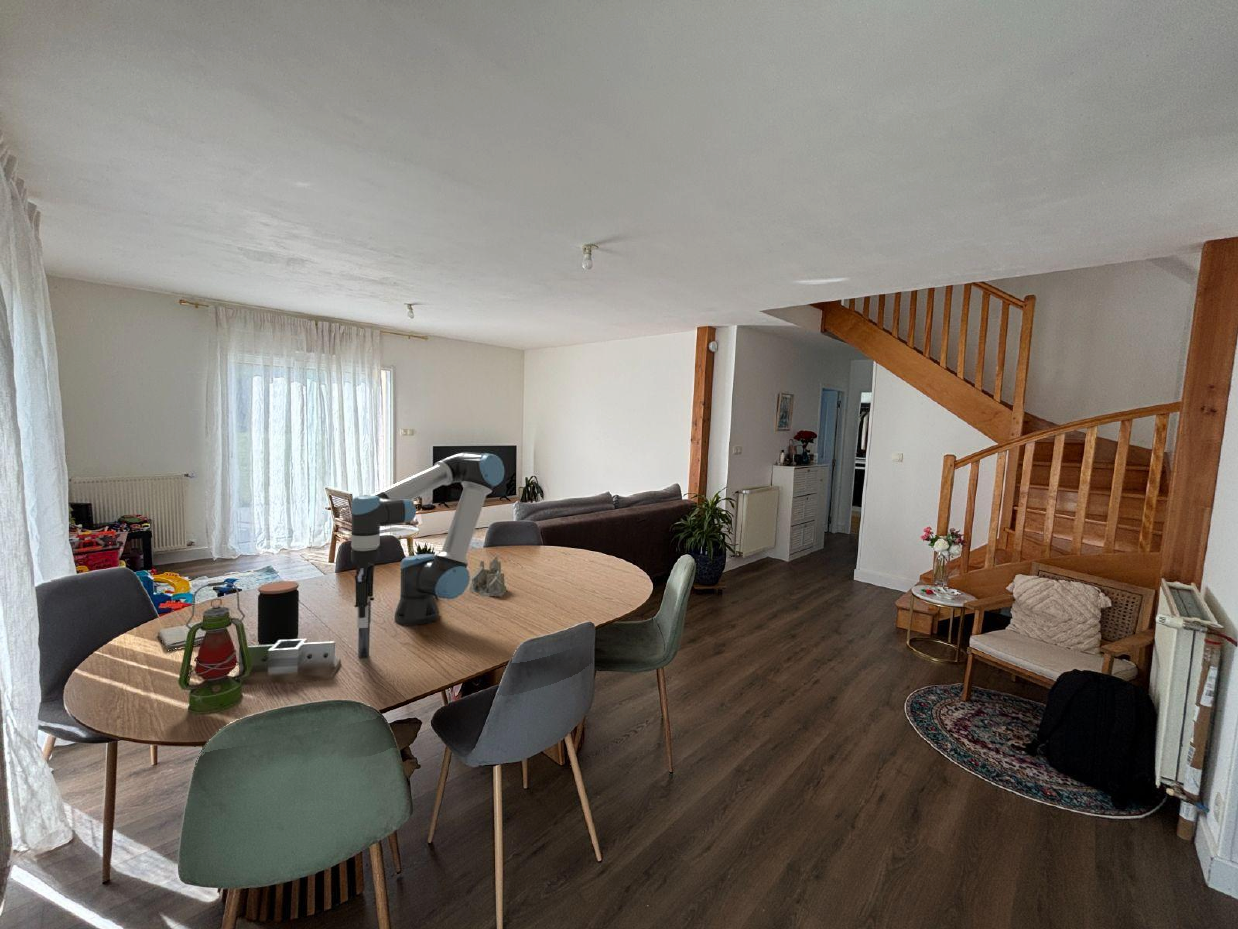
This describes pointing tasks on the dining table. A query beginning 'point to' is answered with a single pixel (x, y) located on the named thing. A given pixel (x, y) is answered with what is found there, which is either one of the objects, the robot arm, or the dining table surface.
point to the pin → (364, 637)
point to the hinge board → (301, 676)
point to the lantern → (214, 661)
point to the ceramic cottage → (489, 580)
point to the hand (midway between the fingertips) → (364, 625)
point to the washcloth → (179, 636)
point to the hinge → (290, 656)
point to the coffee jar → (278, 612)
